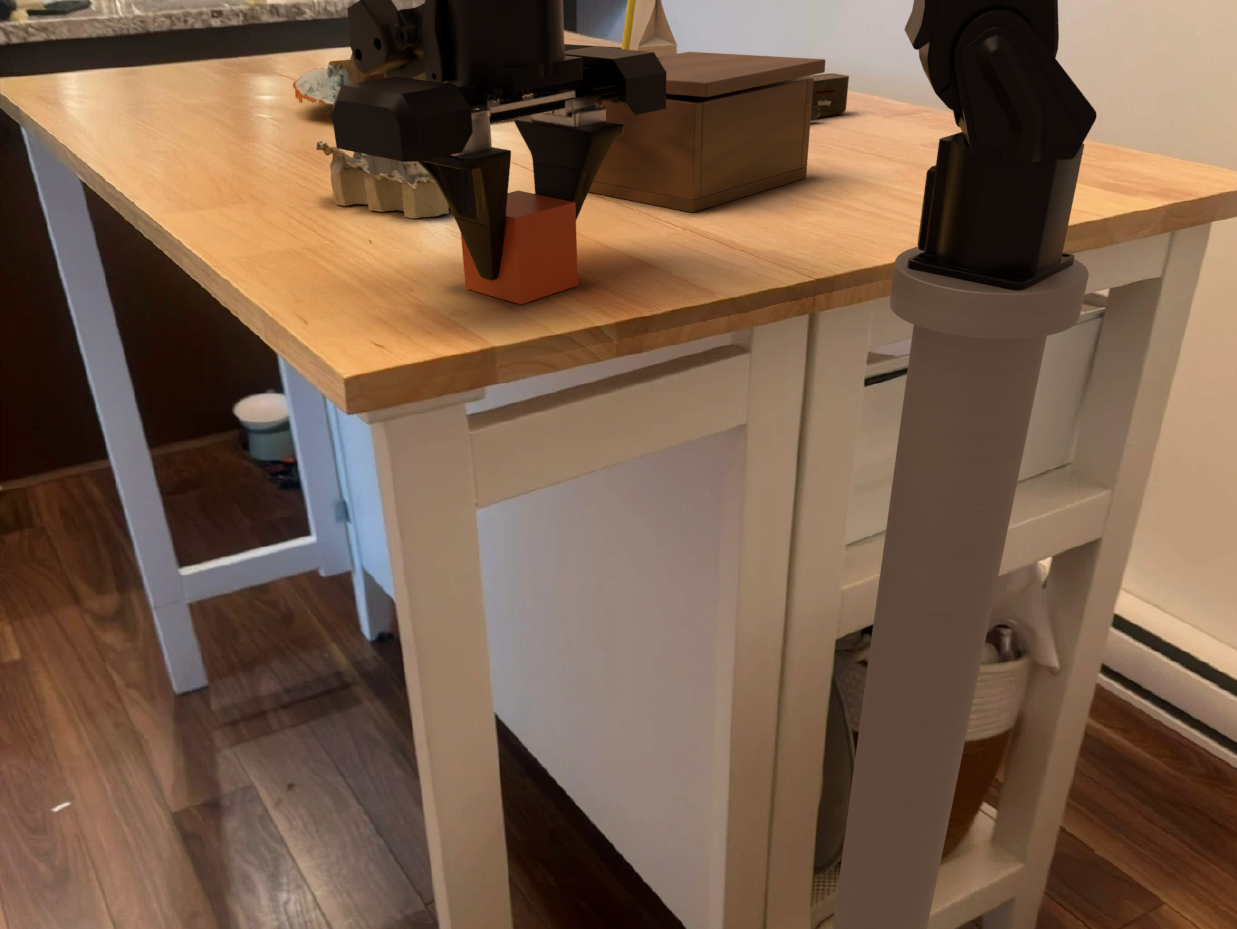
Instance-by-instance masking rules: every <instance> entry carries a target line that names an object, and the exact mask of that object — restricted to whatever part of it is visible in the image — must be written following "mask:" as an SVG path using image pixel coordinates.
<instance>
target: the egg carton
mask: <svg viewBox="0 0 1237 929" xmlns="http://www.w3.org/2000/svg"><path fill="white" fill-rule="evenodd" d="M316 151H322V152H323V153H324V155H325V156H327V157H328V156H330V155H332V159H331V162H330V164H329V168H330V185H331V189H332V194H333V198H334V202H335V204H336V205H339V206H344V207H345V206H352V205H367V207H368V210H369V211H372V212H373V211H375V212H379V213H380V212H381V213H382V212H389V211H398V212H399V211H401V212H403V216H404V217H405V218H409V219H419V218H431V217H439V216H441V215H444V214H447V215H448V214H449V213H450V210H449V209H450V207H449V205H448V203H447V201H446V199H445V197H444V196H443V194H442V192H441V190H440V188H439V187H438V185H437V183H436V181H435V180H434V179H433V177H432V176H431V175H430V174H429V173H428V172H427V171H426V170H425V169H424V168H423V167H422V166H421V165H420V164H419V163H418V162H402V161H397V160H392V159H387V158H382V157H377V156H372V155H367V154H362V153H357V152H353V154H352V156H350V155H348V154H346V152H344V151H343V149H338V148H337V147H336V146H329V145H328V143H327V142H323V140H321V141H317V143H316Z"/></svg>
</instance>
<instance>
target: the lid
mask: <svg viewBox="0 0 1237 929" xmlns="http://www.w3.org/2000/svg"><path fill="white" fill-rule="evenodd" d="M657 58H658V59H659V61H660V63H661V64H662V66H663V67H664V69H665V71H666V72H667V75H666V94H673V95H685V96H697V97H710V96H715V95H719V94H724V93H729V92H734V91H738V90H743V89H748V88H753V87H757V86H762V85H767V84H772V83H777V82H781V81H786V80H791V79H796V78H800V77H805V76H811V75H819V74H825V72H826V59H825V58H824V59H823V58H810V57H809V58H807V57H789V56H772V55H771V56H770V55H757V54H756V55H752V54H736V53H721V52H720V53H719V52H702V51H701V52H700V51H686V52H679V53H677V54H673V55H667V56H661V57H657Z"/></svg>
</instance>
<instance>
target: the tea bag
mask: <svg viewBox="0 0 1237 929" xmlns="http://www.w3.org/2000/svg"><path fill="white" fill-rule="evenodd" d="M622 41H623V36H622V37H621V42H622ZM629 50H637V51H647V52H654V53H655V55H656V56H657V57H661V56H667V55H673V54H678V44H677V42H676V39H675V37H674V34H673V32H672V30H671V27H670V24H669V21H668V19H667V17H666V13H665V9H664V6H663V3H662V0H636V3H635V11H634V18H633V26H632V34H631V41H630V49H629Z"/></svg>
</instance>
